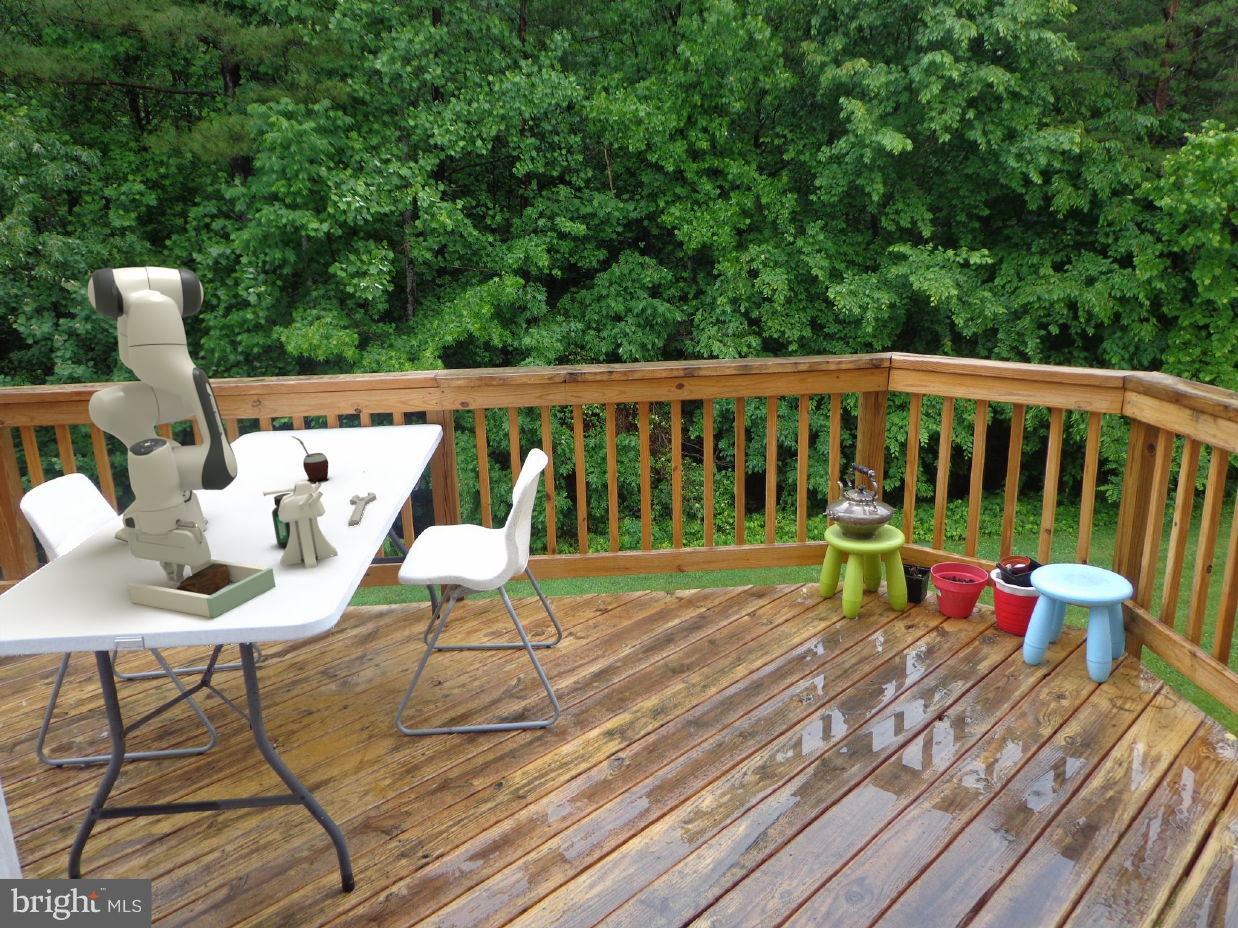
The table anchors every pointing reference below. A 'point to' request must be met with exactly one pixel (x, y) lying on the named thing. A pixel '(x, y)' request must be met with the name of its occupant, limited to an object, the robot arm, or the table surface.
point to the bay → (246, 588)
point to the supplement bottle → (280, 524)
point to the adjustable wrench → (359, 507)
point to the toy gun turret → (303, 524)
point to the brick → (206, 580)
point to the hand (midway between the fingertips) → (176, 580)
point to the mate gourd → (315, 465)
